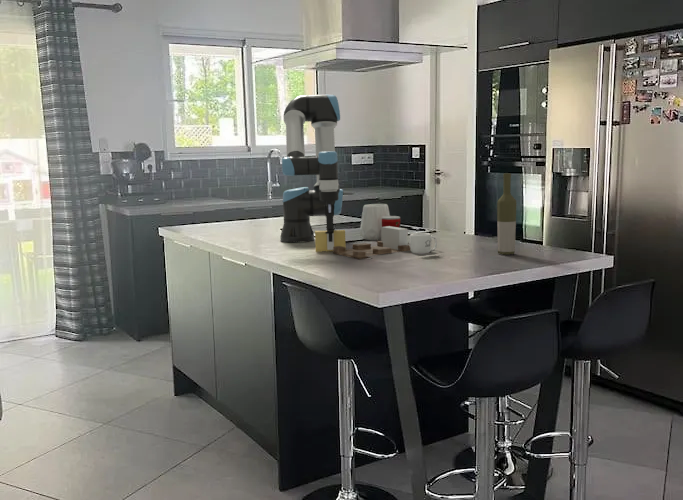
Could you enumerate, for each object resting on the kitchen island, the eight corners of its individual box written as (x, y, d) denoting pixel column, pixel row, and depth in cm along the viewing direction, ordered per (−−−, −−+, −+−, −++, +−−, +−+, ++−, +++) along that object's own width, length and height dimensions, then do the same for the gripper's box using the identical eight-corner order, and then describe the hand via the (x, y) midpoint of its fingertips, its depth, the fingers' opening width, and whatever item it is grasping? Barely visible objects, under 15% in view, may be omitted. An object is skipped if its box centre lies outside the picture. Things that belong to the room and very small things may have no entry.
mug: (418, 256, 256) (417, 235, 255) (405, 254, 263) (404, 233, 262) (443, 253, 262) (443, 233, 261) (430, 250, 269) (430, 230, 268)
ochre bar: (315, 252, 274) (315, 232, 273) (315, 250, 278) (315, 230, 277) (345, 251, 275) (345, 231, 273) (345, 249, 279) (344, 229, 277)
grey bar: (381, 246, 277) (381, 226, 276) (389, 245, 279) (389, 226, 278) (399, 250, 267) (399, 229, 266) (407, 249, 269) (407, 228, 268)
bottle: (519, 254, 255) (521, 173, 250) (505, 256, 252) (506, 174, 247) (506, 252, 261) (507, 172, 257) (492, 253, 258) (493, 173, 253)
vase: (387, 241, 297) (386, 206, 295) (356, 240, 302) (355, 206, 300) (395, 236, 311) (395, 203, 308) (365, 236, 315) (364, 203, 313)
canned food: (399, 243, 289) (399, 217, 287) (380, 243, 291) (380, 218, 289) (401, 241, 296) (401, 215, 295) (383, 241, 298) (382, 215, 296)
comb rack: (333, 253, 269) (333, 246, 269) (383, 247, 282) (383, 240, 281) (358, 259, 254) (358, 252, 254) (410, 252, 267) (410, 245, 266)
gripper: (319, 189, 282) (320, 245, 286) (319, 192, 263) (321, 252, 267) (337, 188, 282) (339, 244, 286) (339, 192, 263) (340, 251, 267)
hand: (330, 248), depth 276 cm, fingers open, 6 cm apart
